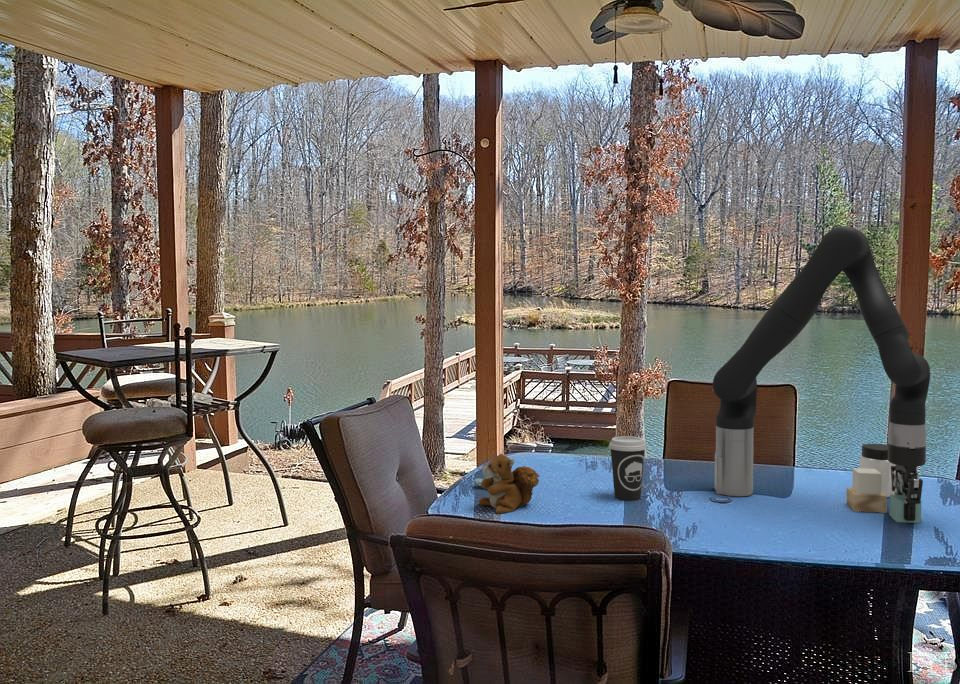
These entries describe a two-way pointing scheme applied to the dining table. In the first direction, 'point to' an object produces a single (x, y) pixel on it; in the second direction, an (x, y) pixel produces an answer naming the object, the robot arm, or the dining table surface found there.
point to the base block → (866, 502)
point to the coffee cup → (627, 466)
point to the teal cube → (902, 509)
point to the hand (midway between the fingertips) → (905, 516)
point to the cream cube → (866, 481)
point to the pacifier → (486, 476)
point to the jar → (878, 464)
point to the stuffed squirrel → (508, 485)
